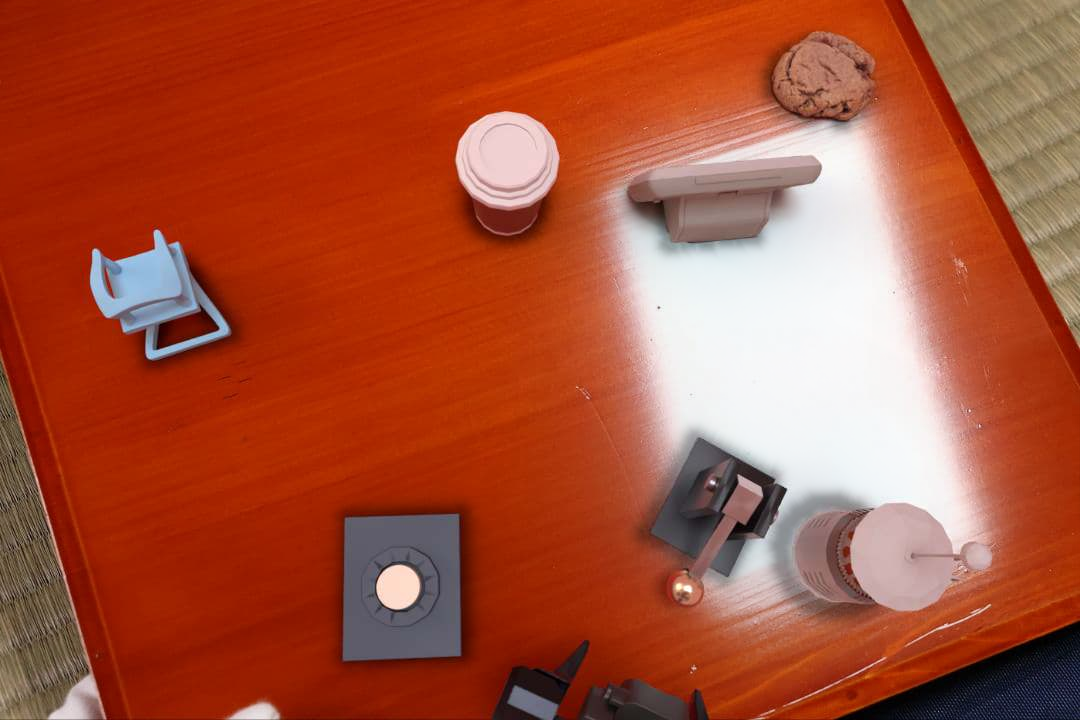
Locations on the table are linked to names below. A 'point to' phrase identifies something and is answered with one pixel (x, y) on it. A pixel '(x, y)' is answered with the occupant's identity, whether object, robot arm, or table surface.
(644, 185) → the digital clock
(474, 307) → the table surface
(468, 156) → the coffee cup
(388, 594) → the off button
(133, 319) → the chair
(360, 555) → the control box
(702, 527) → the switch bracket
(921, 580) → the french press
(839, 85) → the cookie
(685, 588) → the switch lever
